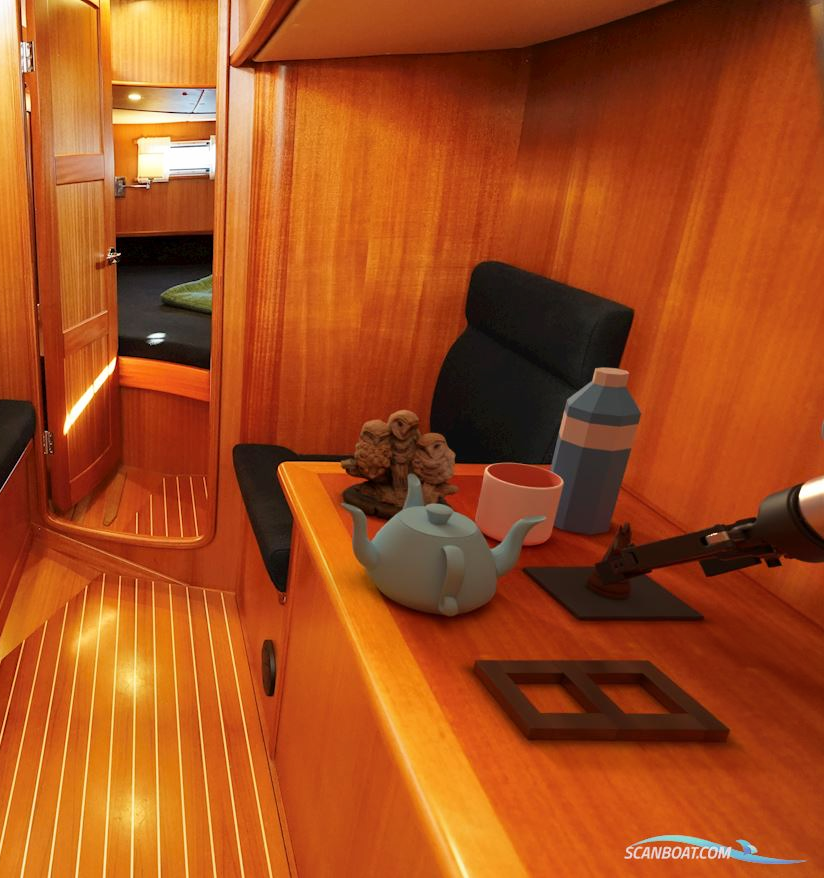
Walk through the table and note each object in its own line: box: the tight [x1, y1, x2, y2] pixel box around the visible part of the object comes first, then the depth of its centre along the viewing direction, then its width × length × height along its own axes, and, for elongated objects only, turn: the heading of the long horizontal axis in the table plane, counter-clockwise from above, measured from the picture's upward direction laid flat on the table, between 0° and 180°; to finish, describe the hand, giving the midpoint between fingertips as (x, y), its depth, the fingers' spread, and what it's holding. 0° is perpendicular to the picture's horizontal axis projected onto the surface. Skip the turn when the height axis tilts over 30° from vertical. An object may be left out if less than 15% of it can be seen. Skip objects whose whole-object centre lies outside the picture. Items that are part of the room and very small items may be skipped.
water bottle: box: [549, 367, 642, 536], centre depth 108 cm, size 9×9×25 cm
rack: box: [472, 659, 731, 742], centre depth 74 cm, size 19×11×2 cm, turn 87°
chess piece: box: [586, 521, 632, 600], centre depth 92 cm, size 5×5×10 cm
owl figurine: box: [340, 409, 459, 521], centre depth 117 cm, size 18×12×17 cm, turn 68°
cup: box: [474, 462, 564, 547], centre depth 108 cm, size 10×10×10 cm
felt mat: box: [522, 566, 705, 621], centre depth 93 cm, size 15×12×1 cm
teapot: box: [340, 474, 546, 617], centre depth 94 cm, size 17×19×12 cm
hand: (652, 570), depth 87 cm, fingers open, 13 cm apart
